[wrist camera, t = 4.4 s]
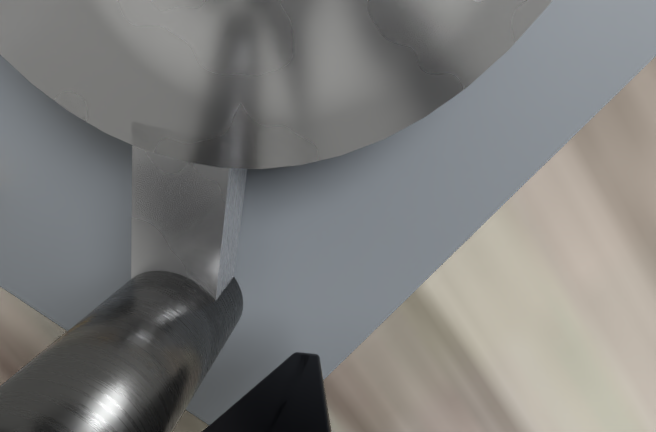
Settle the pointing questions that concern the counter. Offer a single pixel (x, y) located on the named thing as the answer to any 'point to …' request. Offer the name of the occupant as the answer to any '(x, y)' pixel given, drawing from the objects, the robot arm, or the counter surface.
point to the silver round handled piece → (216, 158)
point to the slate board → (315, 198)
